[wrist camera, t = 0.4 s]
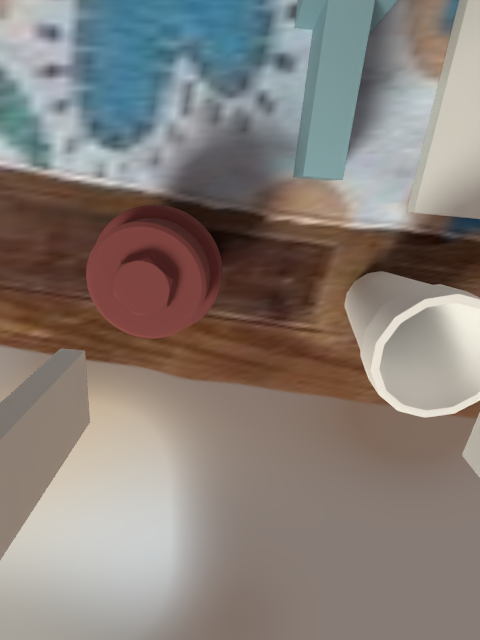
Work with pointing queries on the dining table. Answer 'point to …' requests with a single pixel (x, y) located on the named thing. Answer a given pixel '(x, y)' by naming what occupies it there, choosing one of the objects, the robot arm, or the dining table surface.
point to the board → (454, 127)
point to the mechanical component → (154, 271)
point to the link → (332, 80)
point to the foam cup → (417, 342)
